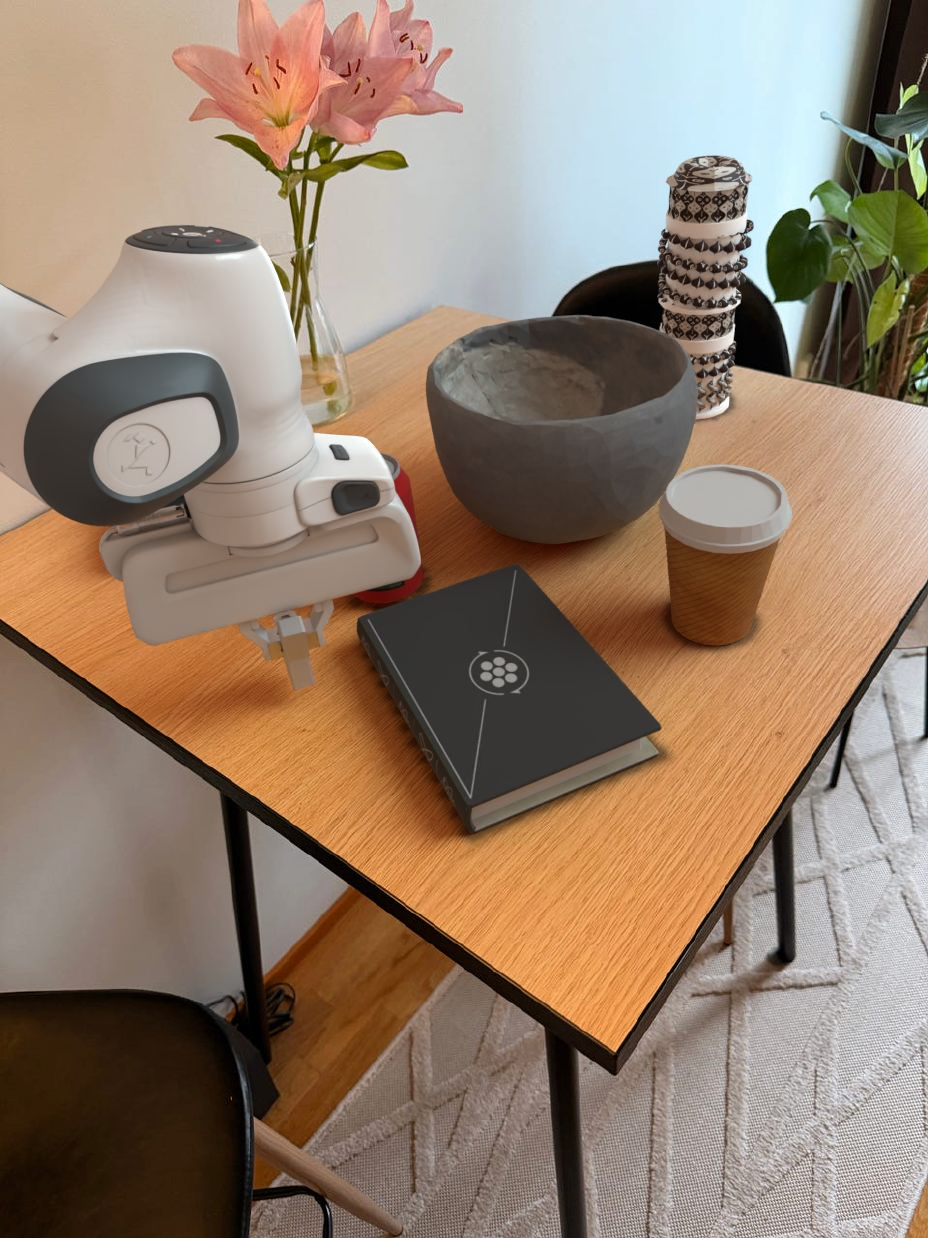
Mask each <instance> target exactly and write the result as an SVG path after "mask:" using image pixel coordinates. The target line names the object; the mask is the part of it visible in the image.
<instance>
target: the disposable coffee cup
mask: <svg viewBox="0 0 928 1238" xmlns="http://www.w3.org/2000/svg"><path fill="white" fill-rule="evenodd" d="M657 508H658V516H659V519H660V520H661V523H662V525H663V527H664V537H665V549H666V562H667V563H666V564H667V575H668V589H669V600H670V601H669V602H670V614H671V623H672V626H673V627H674V629H675V631H676V632H678V633H679V634H680V635H681V636H682V637H683V638H685V639H687V640H689V641H691V642H694V643H697V644H700V645H704V646H705V645H706V646H726V645H730V644H731V645H732V644H734V643H736V642H739V641H741V640H742V639H744V638H745V636H747V635H748V634H749V633H750V631H751V628H752V625H753V622H754V619H755V615H756V612H757V610H758V607H759V604H760V600H761V598H762V595H763V592H764V588H765V586H766V582H767V579H768V576H769V574H770V570H771V567H772V564H773V562H774V561H773V560H774V557H775V554H776V551H777V549H778V546H779V543H780V540H781V537H782V536H783V535H784V533H785V532H786V531H787V530H788V528H789V526H790V525H791V522H792V519H793V511H792V505H791V504H790V502H789V497H788V493H787V491H786V489H785V487H784V485H782V483H781V482H779V480H777V479H776V478H774V477H773V476H771V475H770V474H767V473H765V472H762V471H760V470H757V469H755V468H752V467H748V466H743V465H737V464H726V463H725V464H707V465H701V466H697V467H693V468H690V469H687V470H684V471H683V472H680V473H679V474H677V475H675V476H674V478H673V479H672V481H671V482H670V483H669V485H668V486H667V489H666V491H665V492H664V494H663V495H662V496H661V497H660V499H659V502H658V507H657Z"/></svg>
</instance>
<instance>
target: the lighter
mask: <svg viewBox="0 0 928 1238" xmlns="http://www.w3.org/2000/svg"><path fill="white" fill-rule="evenodd" d="M272 620H273V624H274V627H276V628H277V631H278V634H279V637H280V641H281V645H282V649H283V652H284V656H285V657H282V658H283V661H284V665H285V668H286V671H287V675H288V677H289V681H290V684H291V687H292V690H293V691H299V690H302V689H306V688H310V687H313V686H314V685H316V680H315V676H314V673H313V668H312V664H311V663H312V662H311V659H310V657H311V655H310V649H309V648H308V642H307V636H306V631H305V628H304V625H303V621H302V620H303V618H302V616H301V615H297V613H296V611H295V610H290V611H286V612H282V613H278V614H274V616H272Z"/></svg>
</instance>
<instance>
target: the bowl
mask: <svg viewBox="0 0 928 1238" xmlns="http://www.w3.org/2000/svg"><path fill="white" fill-rule="evenodd" d="M425 395H426V405H427V412H428V417H429V421H430V426H431V427H430V428H431V433H432V436H433V442H434V447H435V451H436V455H437V458H438V461H439V464H440V466H441V467H440V468H441V469H442V473H443V474H444V476H445V479H446V482H447V484H448V485H449V488H450V489H451V492H452V493H453V495H454V497H456V499H457V500H458V501H459V503H460V504H461V505H462V506H463V507H464V509H466V511H468V512H469V513H470V514H471V515H472V516H473V517H474V518H475V519H477V520H479V521H480V522H481V523H483V524H484V525H486V526H487V527H489V528H491V529H493V530H494V531H496V532H498V533H499V534H501V535H503V536H506V537H509V538H513V539H516V540H520V541H524V542H531V543H538V544H544V545H545V544H546V545H547V544H548V545H549V544H551V545H553V544H554V545H557V544H558V545H561V544H566V543H572V542H578V541H579V542H580V541H584V540H589V539H590V540H592V539H595V538H600V537H603V536H607V535H609V534H611V533H614V532H616V531H619V530H621V529H623V528H625V527H627V526H628V525H630V524H632V523H633V522H635V521H637V520H638V519H640V518H641V517H642V516H643V515H645V514H646V513H647V512H648V511H649V510H650V509H651V508H653V507H654V506H655V505H656V504H657V503H658V501H660V499H661V497H662V496H663V494H664V493H665V492H666V489H667V486H668V485H669V483H670V482H671V481H672V479H673V478H675V477H676V475H677V473H678V471H679V470H680V467H681V465H682V464H683V461H684V458H685V456H686V453H687V450H688V447H689V445H690V442H691V438H692V434H693V430H694V428H695V427H694V426H695V423H696V420H695V419H696V413H697V401H698V387H697V381H696V375H695V370H694V368H693V365H692V363H691V360H690V357H689V356H688V354H687V353H686V351H685V350H684V348H683V347H682V345H681V344H680V343H679V342H678V341H677V340H676V339H675V338H673V337H672V336H670V335H668V334H667V333H664V332H661V331H660V329H656V328H653V327H650V326H647V325H644V324H640V323H638V322H634V321H630V320H625V319H620V318H615V317H609V316H592V315H590V314H589V315H588V314H574V315H572V314H571V315H557V316H556V315H555V316H544V317H543V316H541V317H531V318H524V319H519V320H512V321H507V322H501V323H497V324H491V325H485V326H481V327H478V328H476V329H474V330H473V331H471V332H469V333H466V334H465V335H463V336H461V337H459V338H457V339H454V341H453V342H452V343H450V344H449V345H447V346H446V347H445V348H443V349H442V350H441V351H439V352H438V353H437V354H436V355H435V357H434V358H433V360H432V361H431V362H430V364H429V365H428V367H427V372H426V379H425Z"/></svg>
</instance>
